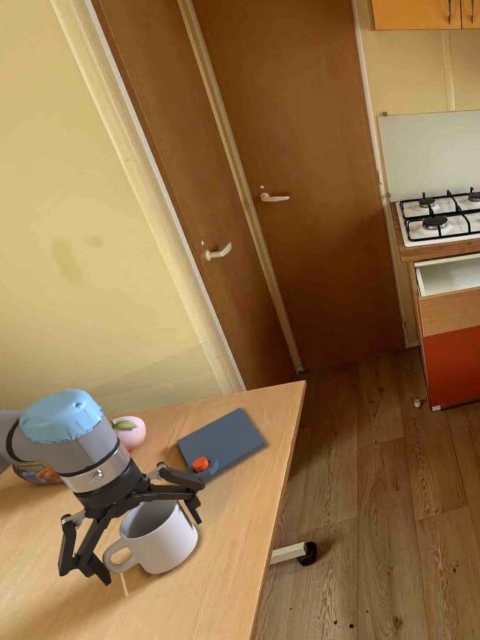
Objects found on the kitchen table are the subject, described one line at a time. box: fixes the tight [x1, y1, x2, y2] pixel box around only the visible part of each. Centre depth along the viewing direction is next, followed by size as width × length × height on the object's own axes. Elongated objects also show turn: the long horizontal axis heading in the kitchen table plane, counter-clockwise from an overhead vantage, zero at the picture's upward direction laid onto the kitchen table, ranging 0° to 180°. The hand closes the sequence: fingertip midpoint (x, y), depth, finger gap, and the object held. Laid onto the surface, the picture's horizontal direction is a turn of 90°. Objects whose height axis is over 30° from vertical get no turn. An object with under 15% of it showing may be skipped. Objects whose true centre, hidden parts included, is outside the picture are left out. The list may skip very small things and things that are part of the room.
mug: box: [101, 500, 199, 575], centre depth 77 cm, size 12×8×11 cm
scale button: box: [192, 457, 209, 473], centre depth 93 cm, size 3×3×2 cm
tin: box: [11, 460, 64, 485], centre depth 92 cm, size 15×3×8 cm, turn 95°
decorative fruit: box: [108, 415, 147, 454], centre depth 98 cm, size 9×8×10 cm
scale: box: [176, 406, 267, 484], centre depth 100 cm, size 15×17×3 cm
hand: (155, 547), depth 78 cm, fingers open, 13 cm apart
